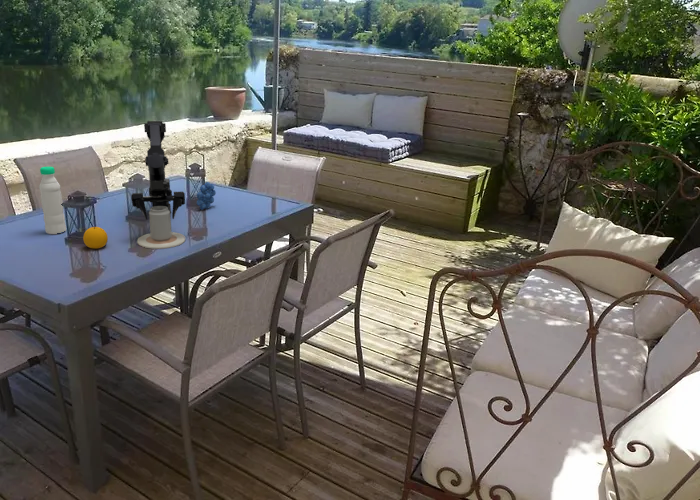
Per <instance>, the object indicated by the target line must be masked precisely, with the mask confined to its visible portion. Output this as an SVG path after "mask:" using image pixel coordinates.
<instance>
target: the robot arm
mask: <svg viewBox="0 0 700 500" xmlns="http://www.w3.org/2000/svg"><path fill="white" fill-rule="evenodd" d="M146 122H147V123H143V125H144V126H143V128H144V133H146V137H147V139H148V140H149V145H150V146H149V149H147V150H146V151H147V153H146V155H147V156H145V162H144V163H145V166H146V167H147V169H148V174H149V175H148V178H149V188H148V193H149V194H148V195H147V196H145V195H144V194H143V192H133V193H132V194H131V195H130V196H131V197H130V198H131V203H132V207H136V209H139V210H140V212H141V213H142V215H143V216H144V219H145V221H148V215H147V209H146V206H145V205H146V204H145V202H146V203H147V202H149V203H151V206H152V207H154V206H166V207H168V210H169V211H170V214H171V216H172V220H174V219H175V217H176V214H177V212H178V209H179V208H180V207H182V206H184V205H185V204H186V194H185V192H184V191H172V190H171V183H170V178H166V171H165V169H166V166H168V165H169V164H170V163H169V158H168V157H167V155H165V150H164V149H163V148H162V142H163V141H164V139H165V133H167V127H166V126H167V125H166V123H165V122H163V121H162V120H147V121H146ZM170 202H172V206H171V203H170ZM171 207H172V209H171Z"/></svg>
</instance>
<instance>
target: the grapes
mask: <svg viewBox="0 0 700 500" xmlns="http://www.w3.org/2000/svg"><path fill="white" fill-rule="evenodd" d="M216 193H217V192H216V189H215V185H214V184H213V183H210V182H209V181H206V182H205V183H204V184H202V185H200V187H199V191H198V192H197V193H196V198H197V200H196V205H197V206H198V207H199V209H200V210H201V211H202V210H204V209H207V210H208V209H209V208H210V207H211V204H213V203H214V201H215V198H214V196H215V195H216Z"/></svg>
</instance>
